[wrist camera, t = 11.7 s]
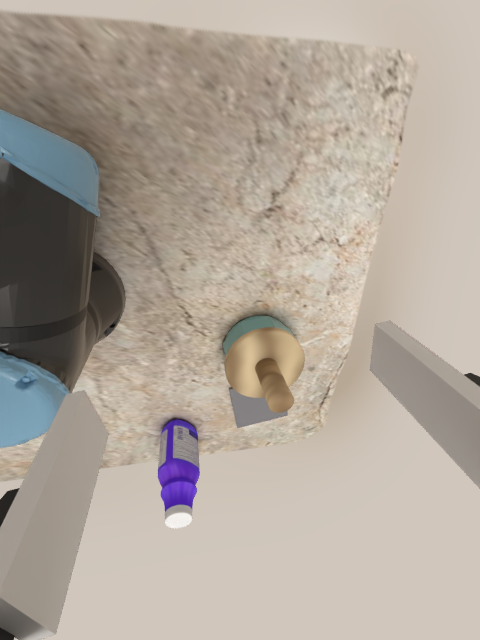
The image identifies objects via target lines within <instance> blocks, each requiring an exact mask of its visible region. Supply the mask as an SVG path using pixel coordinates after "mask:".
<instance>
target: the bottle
mask: <svg viewBox="0 0 480 640" xmlns="http://www.w3.org/2000/svg"><path fill="white" fill-rule="evenodd" d="M199 473H200V472H199V453H198V435H197V431H196V429H195V428H194V427H193V426H192V425H191V424H189V423H187V422H185V421H182V420H177V419H176V420H173V421H171V422H169V423H168V424H167V425H166V426H165V427H164V428H163V430H162V433H161V440H160V452H159V464H158V479H159V481H160V484H161V486H162V490H161V497H162V499H163V501H164V505H165V524H166V525H167V526H168V527H170V528H182V527H185V526H187V525H188V524H190V522H191V521H192V504H193V499H194V497H195V494H196V492H197V488H196V486H195V485H196V483H197V481H198V478H199Z"/></svg>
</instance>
